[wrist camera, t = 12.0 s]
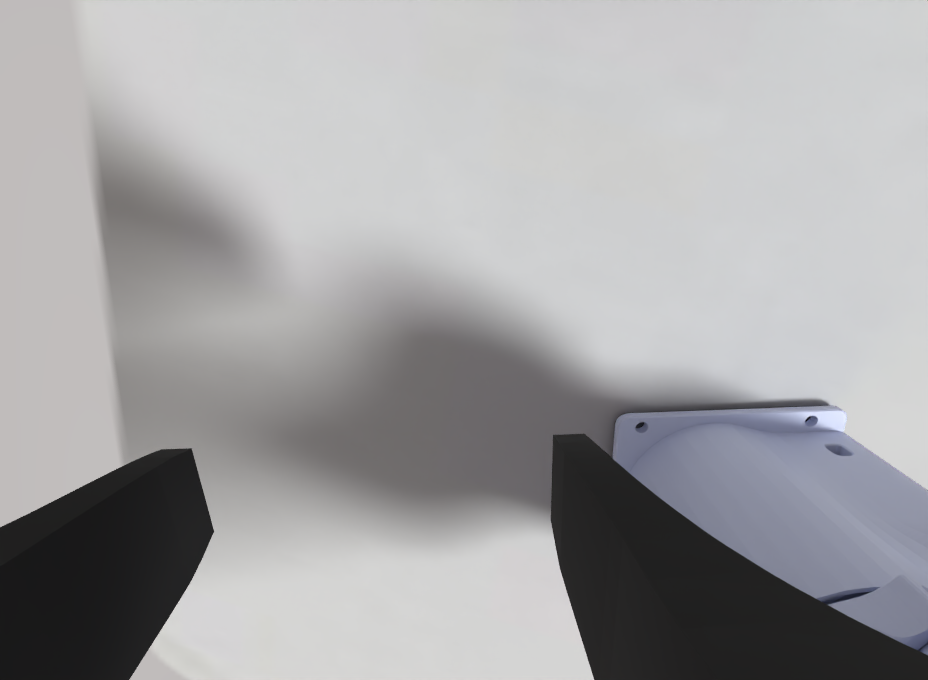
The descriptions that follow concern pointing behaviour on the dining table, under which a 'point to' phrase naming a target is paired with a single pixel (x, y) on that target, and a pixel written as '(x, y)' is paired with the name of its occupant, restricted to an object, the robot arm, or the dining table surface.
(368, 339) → the dining table surface
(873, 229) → the dining table surface
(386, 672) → the dining table surface
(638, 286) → the dining table surface
